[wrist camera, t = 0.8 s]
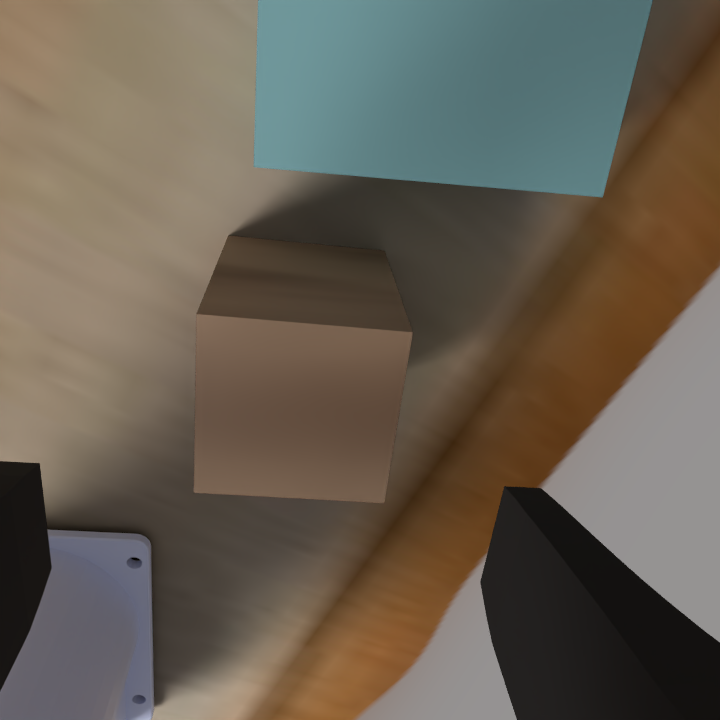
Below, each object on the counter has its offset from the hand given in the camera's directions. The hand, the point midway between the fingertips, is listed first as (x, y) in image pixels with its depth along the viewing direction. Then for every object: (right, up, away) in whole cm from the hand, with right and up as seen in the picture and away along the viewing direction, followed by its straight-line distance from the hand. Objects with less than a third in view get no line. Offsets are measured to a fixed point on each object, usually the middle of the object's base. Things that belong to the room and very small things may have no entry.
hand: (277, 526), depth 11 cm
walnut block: (0, +4, +10) cm, 10 cm away
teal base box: (+3, +12, +6) cm, 14 cm away
